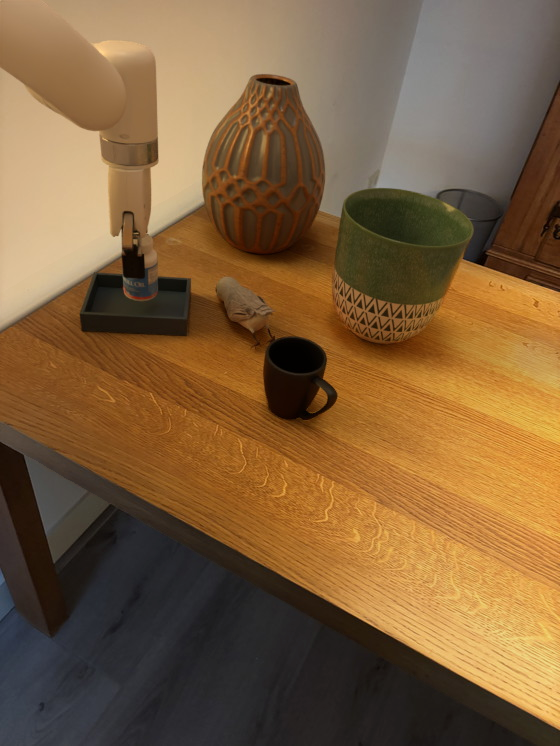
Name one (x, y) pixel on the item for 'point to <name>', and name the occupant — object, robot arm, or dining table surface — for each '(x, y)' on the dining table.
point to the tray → (136, 307)
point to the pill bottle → (149, 284)
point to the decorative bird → (244, 306)
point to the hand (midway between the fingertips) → (136, 265)
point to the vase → (264, 168)
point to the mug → (295, 378)
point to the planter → (395, 261)
